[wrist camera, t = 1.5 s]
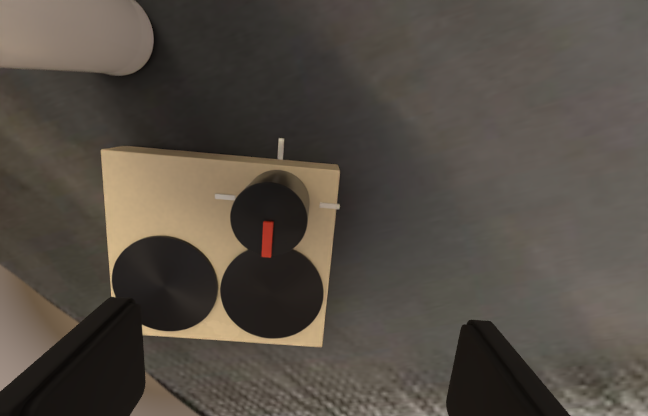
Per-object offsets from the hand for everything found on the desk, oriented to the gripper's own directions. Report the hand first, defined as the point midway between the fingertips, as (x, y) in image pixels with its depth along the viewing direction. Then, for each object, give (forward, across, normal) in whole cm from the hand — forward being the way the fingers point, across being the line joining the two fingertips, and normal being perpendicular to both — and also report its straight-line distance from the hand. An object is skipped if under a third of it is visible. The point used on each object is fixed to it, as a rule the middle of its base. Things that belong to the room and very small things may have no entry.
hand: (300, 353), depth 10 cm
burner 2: (+15, +2, +6) cm, 16 cm away
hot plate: (+18, +6, +4) cm, 19 cm away
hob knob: (+15, +2, -1) cm, 15 cm away
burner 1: (+15, +10, +6) cm, 19 cm away
